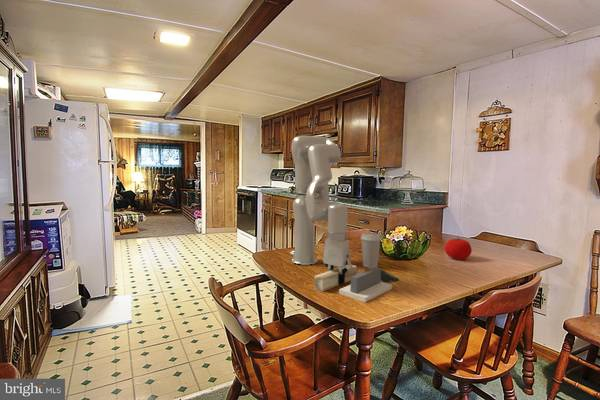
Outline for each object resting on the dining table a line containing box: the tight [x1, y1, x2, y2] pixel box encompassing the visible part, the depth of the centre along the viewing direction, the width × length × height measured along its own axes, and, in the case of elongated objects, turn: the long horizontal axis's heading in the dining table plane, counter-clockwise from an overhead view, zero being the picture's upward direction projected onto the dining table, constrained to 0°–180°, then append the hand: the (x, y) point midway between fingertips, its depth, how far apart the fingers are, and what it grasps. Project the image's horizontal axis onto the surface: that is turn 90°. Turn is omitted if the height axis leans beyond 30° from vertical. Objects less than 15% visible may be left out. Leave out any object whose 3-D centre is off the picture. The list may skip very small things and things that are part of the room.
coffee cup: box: [360, 232, 382, 269], centre depth 147 cm, size 10×10×15 cm
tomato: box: [444, 237, 473, 260], centre depth 161 cm, size 11×12×10 cm
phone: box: [364, 269, 400, 283], centre depth 134 cm, size 8×1×15 cm
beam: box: [313, 264, 358, 293], centre depth 125 cm, size 4×22×5 cm, turn 136°
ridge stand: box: [338, 266, 393, 303], centre depth 116 cm, size 11×18×7 cm, turn 135°
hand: (336, 281), depth 125 cm, fingers closed on beam, 4 cm apart
